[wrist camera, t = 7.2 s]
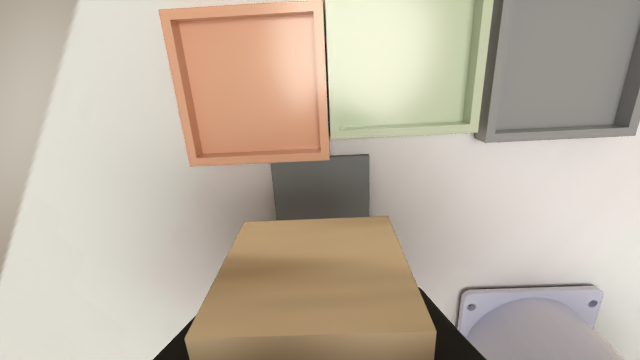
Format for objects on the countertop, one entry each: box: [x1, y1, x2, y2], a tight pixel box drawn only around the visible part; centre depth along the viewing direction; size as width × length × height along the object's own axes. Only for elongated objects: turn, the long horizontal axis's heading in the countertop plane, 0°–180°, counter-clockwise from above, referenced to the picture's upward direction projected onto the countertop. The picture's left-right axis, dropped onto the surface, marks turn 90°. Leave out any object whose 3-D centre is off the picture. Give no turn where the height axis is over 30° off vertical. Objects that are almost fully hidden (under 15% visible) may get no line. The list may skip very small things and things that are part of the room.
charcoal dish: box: [475, 0, 640, 143], centre depth 14 cm, size 7×7×1 cm
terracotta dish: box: [159, 0, 330, 166], centre depth 14 cm, size 7×7×1 cm
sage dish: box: [325, 0, 494, 140], centre depth 14 cm, size 7×7×1 cm
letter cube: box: [184, 216, 437, 360], centre depth 8 cm, size 4×4×5 cm
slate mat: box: [271, 154, 369, 221], centre depth 17 cm, size 5×5×1 cm
